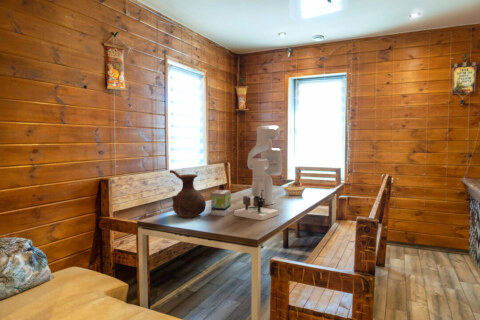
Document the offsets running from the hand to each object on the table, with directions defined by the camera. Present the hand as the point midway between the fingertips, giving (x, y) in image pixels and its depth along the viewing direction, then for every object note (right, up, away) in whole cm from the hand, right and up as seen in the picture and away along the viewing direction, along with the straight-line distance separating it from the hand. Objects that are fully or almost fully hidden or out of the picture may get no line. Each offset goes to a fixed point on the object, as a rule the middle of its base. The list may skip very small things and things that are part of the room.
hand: (258, 206), depth 205 cm
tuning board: (-1, -6, +2) cm, 6 cm away
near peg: (0, -3, -3) cm, 4 cm away
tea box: (-25, -6, +7) cm, 26 cm away
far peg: (-4, -2, +5) cm, 7 cm away
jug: (-45, -6, +1) cm, 46 cm away
